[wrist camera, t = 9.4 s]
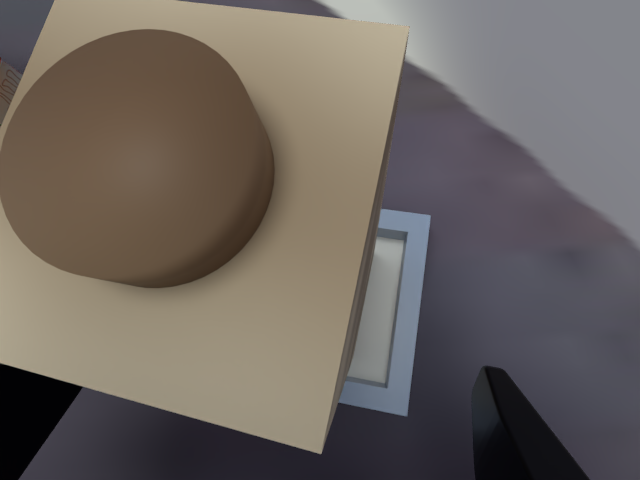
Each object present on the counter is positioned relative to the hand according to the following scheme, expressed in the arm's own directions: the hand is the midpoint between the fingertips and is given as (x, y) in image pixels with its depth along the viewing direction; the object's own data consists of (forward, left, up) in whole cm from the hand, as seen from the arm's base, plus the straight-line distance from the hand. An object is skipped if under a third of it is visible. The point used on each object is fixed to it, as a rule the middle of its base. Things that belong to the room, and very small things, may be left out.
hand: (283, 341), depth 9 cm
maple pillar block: (+2, 0, -7) cm, 8 cm away
